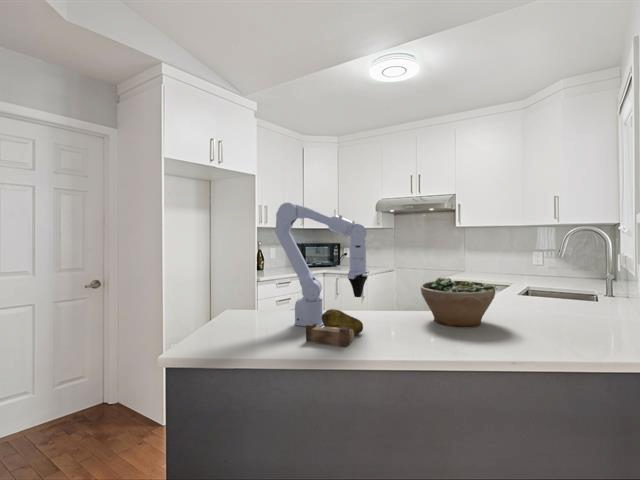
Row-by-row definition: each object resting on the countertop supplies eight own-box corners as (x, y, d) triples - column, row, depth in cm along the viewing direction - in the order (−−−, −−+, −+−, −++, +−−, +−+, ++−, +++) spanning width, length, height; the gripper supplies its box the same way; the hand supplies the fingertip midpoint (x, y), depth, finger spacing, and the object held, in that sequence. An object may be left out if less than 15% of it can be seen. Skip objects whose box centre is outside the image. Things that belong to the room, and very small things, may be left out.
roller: (324, 323, 116) (328, 331, 118) (320, 334, 113) (324, 341, 116) (351, 326, 112) (354, 334, 115) (348, 337, 109) (351, 345, 112)
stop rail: (306, 341, 113) (305, 325, 113) (310, 338, 116) (310, 322, 115) (346, 347, 108) (345, 329, 107) (349, 344, 110) (349, 327, 110)
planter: (511, 328, 125) (512, 284, 125) (445, 334, 119) (445, 288, 119) (464, 311, 150) (464, 275, 150) (407, 316, 144) (407, 277, 143)
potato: (358, 340, 114) (358, 314, 114) (319, 336, 118) (318, 311, 118) (364, 332, 122) (364, 308, 122) (327, 329, 126) (327, 305, 126)
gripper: (361, 260, 123) (362, 301, 123) (374, 257, 136) (375, 294, 136) (341, 259, 126) (342, 299, 126) (356, 256, 139) (356, 292, 139)
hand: (357, 296), depth 131 cm, fingers closed
